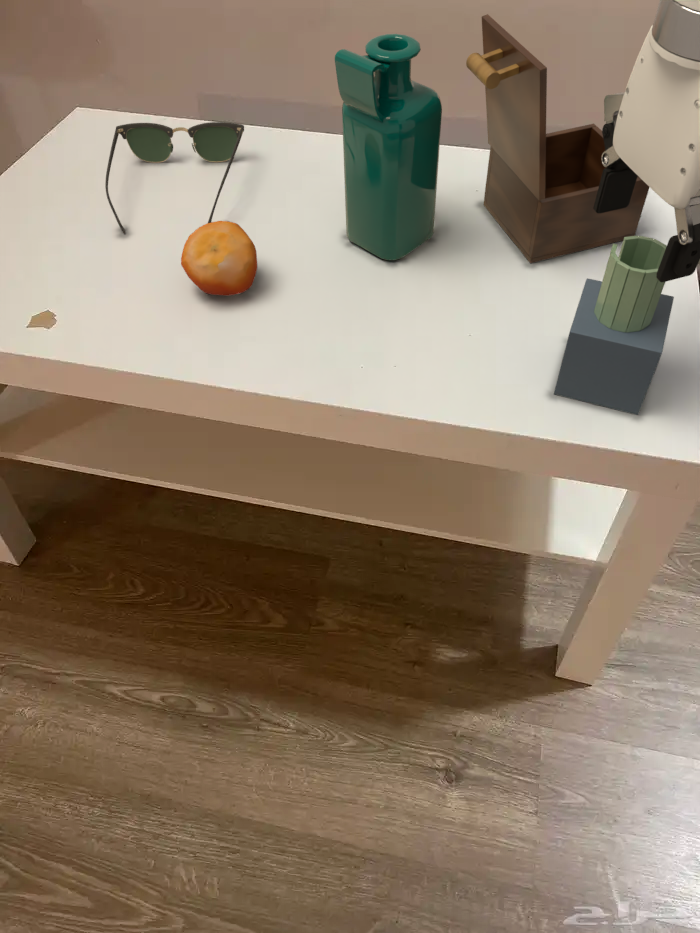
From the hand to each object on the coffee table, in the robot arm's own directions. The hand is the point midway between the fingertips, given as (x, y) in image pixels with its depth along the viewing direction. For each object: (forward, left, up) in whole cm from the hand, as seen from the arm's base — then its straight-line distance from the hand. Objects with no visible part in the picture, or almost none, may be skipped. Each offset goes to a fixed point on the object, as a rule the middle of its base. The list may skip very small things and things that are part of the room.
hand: (640, 241), depth 65 cm
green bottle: (+27, -14, -16) cm, 34 cm away
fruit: (+41, 0, -16) cm, 44 cm away
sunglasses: (+55, -14, -16) cm, 59 cm away
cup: (0, 0, -8) cm, 8 cm away
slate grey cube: (0, 0, -16) cm, 16 cm away
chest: (+9, -24, -16) cm, 30 cm away
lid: (+15, -19, 0) cm, 24 cm away
